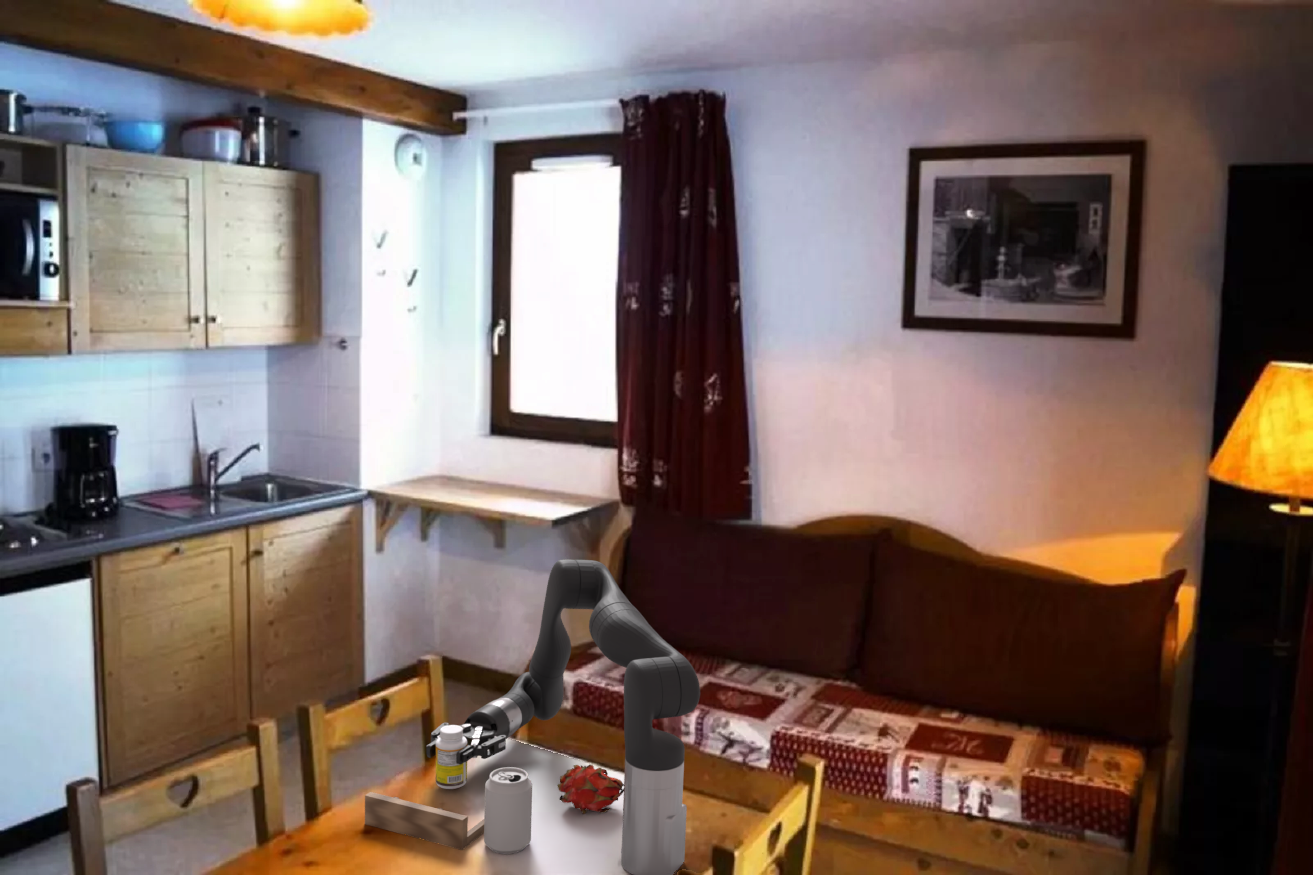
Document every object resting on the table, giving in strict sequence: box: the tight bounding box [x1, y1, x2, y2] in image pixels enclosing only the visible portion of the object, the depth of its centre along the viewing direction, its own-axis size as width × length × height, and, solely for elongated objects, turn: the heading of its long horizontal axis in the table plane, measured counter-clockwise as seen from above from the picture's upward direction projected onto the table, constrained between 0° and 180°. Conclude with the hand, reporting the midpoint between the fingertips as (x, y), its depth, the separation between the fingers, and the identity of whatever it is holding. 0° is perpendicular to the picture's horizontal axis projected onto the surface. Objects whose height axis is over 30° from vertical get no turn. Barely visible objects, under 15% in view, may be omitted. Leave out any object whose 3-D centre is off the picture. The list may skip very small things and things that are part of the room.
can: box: [483, 766, 533, 855], centre depth 177 cm, size 8×8×12 cm
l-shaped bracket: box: [364, 791, 484, 851], centre depth 182 cm, size 19×8×5 cm, turn 67°
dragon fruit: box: [557, 764, 624, 815], centre depth 191 cm, size 8×8×12 cm
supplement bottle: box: [435, 724, 468, 790], centre depth 196 cm, size 6×6×10 cm
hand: (443, 755), depth 194 cm, fingers closed on supplement bottle, 5 cm apart
